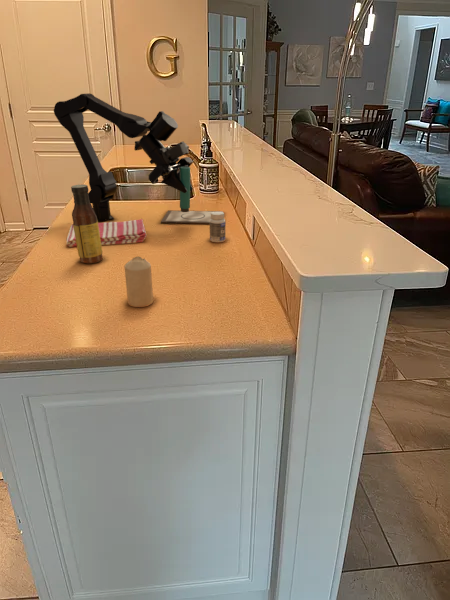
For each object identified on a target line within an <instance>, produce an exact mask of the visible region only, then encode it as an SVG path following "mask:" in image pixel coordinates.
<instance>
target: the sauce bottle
mask: <svg viewBox="0 0 450 600" xmlns="http://www.w3.org/2000/svg"><path fill="white" fill-rule="evenodd" d="M70 188H71V193H72V195H73V196H72V197H73V203H74V206H73V209H72V211H71V218H72V224H73V227H74V232H75V238H76V244H77V246H76V249H77V255H78V257H79V261H80V263H84V264H96V263H99V262H100V261H102V260H103V245H101V239H100V233H99V226H98V223H99V221H98V220H97V216H96V214H95V212H94V210H93V206H92V203H90V200H89V195H88V193H89V186H88V185H87V184H84V183H83V184H74V185H71V186H70Z"/></svg>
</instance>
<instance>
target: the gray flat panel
mask: <svg viewBox="0 0 450 600" xmlns="http://www.w3.org/2000/svg"><path fill="white" fill-rule="evenodd" d="M216 211H217V210H189V212H181V210H170V209H169V210H167V212H166V213H165V215H164V216H163V218H161V220H160V224H164V225H165V224H167V225H168V224H169V225H171V224H172V225H210V219H212V218H211V213H212V212H216ZM218 211H219V212H224V211H223V210H221V211H220V210H218Z"/></svg>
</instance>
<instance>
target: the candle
mask: <svg viewBox="0 0 450 600" xmlns="http://www.w3.org/2000/svg"><path fill="white" fill-rule="evenodd" d="M152 275H153V274H152V264H151V262H150V261H148V260H147V259H145V258H142V257H141V256H134V257H133V258H131V259H130V260H129V261H127V262H126V263H125V265H124V277H125V287H126V297H127V304H128V306H131V307H134V308H143V307H147V306H148V307H149V306H150V305H152V304H153V302H154V292H153V290H154V289H153V288H154V287H153V276H152Z"/></svg>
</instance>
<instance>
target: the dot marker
mask: <svg viewBox="0 0 450 600" xmlns="http://www.w3.org/2000/svg"><path fill="white" fill-rule="evenodd" d="M180 180H181V182H182V183H183V185H184V186H185V188H186V189H187V192H186V193H183V192H181V191H179V208H180V211H181V212H189V211H190V208H191V191H190V183H191V166H190V167H180Z"/></svg>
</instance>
